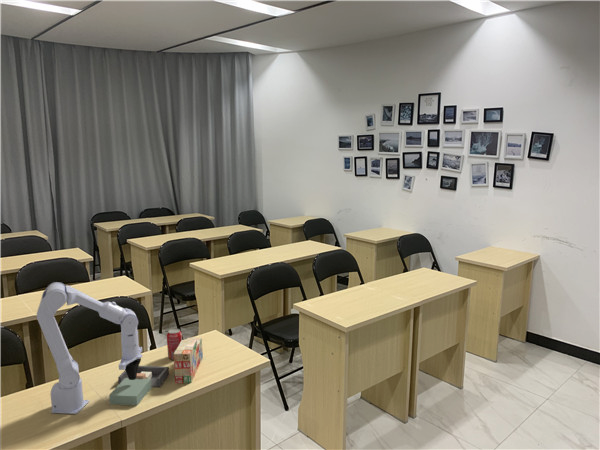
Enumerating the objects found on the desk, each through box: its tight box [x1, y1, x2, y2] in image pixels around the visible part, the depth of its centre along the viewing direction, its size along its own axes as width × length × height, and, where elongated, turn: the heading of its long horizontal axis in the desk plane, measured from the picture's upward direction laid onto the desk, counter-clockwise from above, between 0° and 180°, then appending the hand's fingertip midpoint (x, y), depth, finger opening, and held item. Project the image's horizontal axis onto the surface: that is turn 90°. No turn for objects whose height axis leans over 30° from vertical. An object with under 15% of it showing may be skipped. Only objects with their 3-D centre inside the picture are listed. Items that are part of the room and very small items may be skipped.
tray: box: [117, 365, 170, 388], centre depth 176 cm, size 16×10×3 cm, turn 85°
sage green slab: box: [108, 378, 153, 406], centre depth 165 cm, size 10×12×4 cm
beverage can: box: [166, 328, 183, 361], centre depth 194 cm, size 6×6×12 cm
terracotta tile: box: [136, 373, 146, 379], centre depth 172 cm, size 4×4×2 cm
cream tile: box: [141, 372, 152, 379], centre depth 176 cm, size 4×4×2 cm
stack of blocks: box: [173, 337, 204, 384], centre depth 184 cm, size 21×6×12 cm, turn 0°
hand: (132, 379), depth 167 cm, fingers closed
